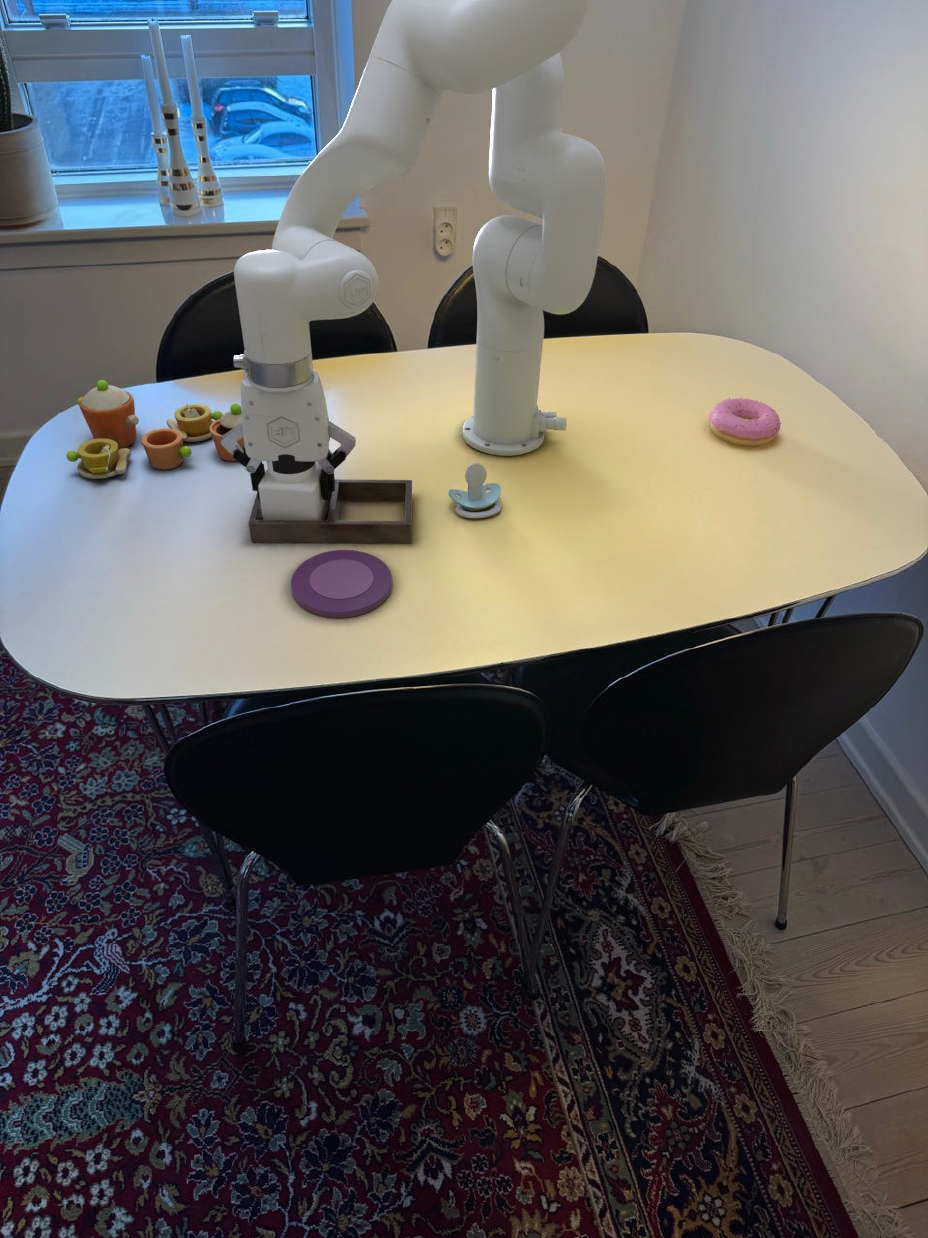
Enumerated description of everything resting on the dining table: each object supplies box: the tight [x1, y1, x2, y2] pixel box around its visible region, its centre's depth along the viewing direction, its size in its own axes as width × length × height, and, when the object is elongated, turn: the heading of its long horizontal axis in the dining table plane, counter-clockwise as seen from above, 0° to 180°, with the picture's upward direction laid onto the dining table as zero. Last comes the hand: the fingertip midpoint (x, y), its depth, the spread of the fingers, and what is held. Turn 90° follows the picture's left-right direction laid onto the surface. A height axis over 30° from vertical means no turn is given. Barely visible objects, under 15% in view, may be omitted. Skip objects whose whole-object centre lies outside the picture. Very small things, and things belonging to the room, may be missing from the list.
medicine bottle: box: [258, 454, 330, 521], centre depth 109 cm, size 7×7×12 cm
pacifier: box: [447, 462, 503, 519], centre depth 114 cm, size 7×6×6 cm
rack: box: [248, 478, 413, 544], centre depth 112 cm, size 20×11×3 cm, turn 92°
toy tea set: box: [65, 379, 245, 480], centre depth 123 cm, size 26×16×10 cm, turn 106°
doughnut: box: [708, 396, 782, 447], centre depth 134 cm, size 11×11×4 cm
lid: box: [290, 549, 393, 619], centre depth 103 cm, size 12×12×1 cm
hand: (295, 494), depth 111 cm, fingers closed on medicine bottle, 7 cm apart
